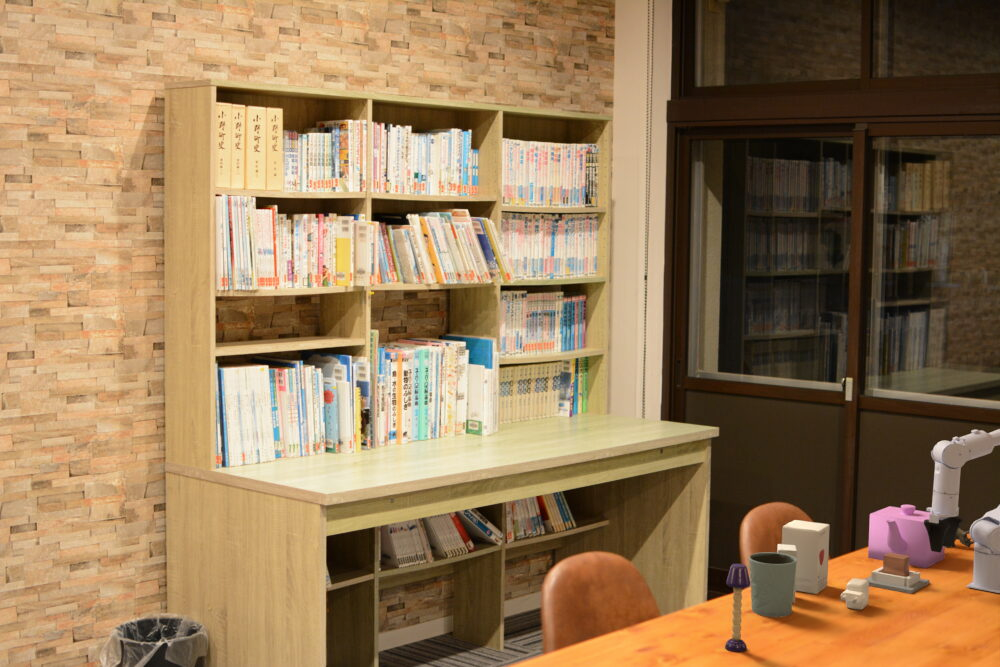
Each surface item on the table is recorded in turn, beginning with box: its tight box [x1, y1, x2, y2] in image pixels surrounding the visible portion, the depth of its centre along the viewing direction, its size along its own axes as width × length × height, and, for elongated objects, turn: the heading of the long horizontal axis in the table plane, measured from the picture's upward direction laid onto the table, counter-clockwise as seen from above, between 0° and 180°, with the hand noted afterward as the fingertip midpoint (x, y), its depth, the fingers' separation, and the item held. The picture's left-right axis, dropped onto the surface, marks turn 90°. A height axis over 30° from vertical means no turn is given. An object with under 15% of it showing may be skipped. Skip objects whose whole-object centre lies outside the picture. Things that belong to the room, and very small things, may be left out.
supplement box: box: [781, 519, 830, 595], centre depth 278 cm, size 9×9×15 cm
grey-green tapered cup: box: [748, 551, 797, 618], centre depth 258 cm, size 10×10×12 cm
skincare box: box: [776, 543, 797, 604], centre depth 268 cm, size 6×4×12 cm
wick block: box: [882, 553, 910, 577], centre depth 282 cm, size 4×5×6 cm
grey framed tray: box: [864, 565, 930, 595], centre depth 282 cm, size 12×12×3 cm
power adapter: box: [840, 577, 870, 611], centre depth 261 cm, size 11×5×6 cm, turn 149°
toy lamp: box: [724, 563, 751, 652], centre depth 233 cm, size 5×5×17 cm
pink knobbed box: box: [867, 504, 946, 569], centre depth 306 cm, size 15×25×14 cm, turn 140°
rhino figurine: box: [945, 527, 974, 549], centre depth 320 cm, size 4×14×6 cm, turn 46°
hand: (941, 549), depth 278 cm, fingers open, 7 cm apart
